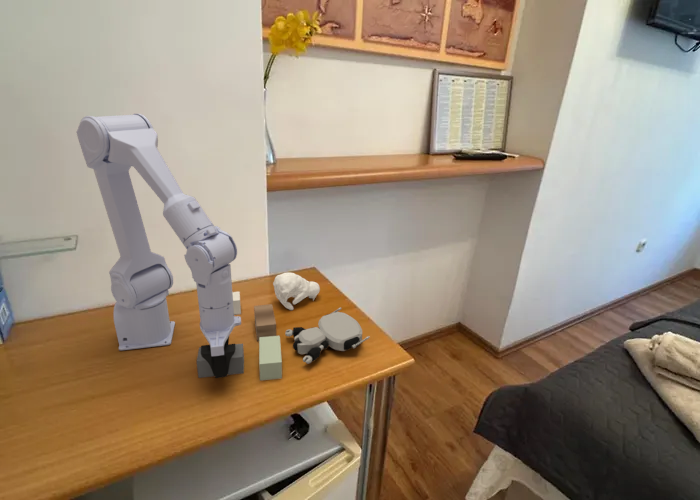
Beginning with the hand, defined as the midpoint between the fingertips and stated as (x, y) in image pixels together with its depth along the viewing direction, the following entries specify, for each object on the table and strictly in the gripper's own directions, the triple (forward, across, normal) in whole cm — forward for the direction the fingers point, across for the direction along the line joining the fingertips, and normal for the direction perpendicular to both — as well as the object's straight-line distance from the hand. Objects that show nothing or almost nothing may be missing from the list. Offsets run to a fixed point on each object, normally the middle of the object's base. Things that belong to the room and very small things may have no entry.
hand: (221, 362), depth 73 cm
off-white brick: (+2, +20, 0) cm, 20 cm away
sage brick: (+2, -1, -9) cm, 9 cm away
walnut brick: (+2, +11, -9) cm, 14 cm away
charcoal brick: (+2, 0, 0) cm, 2 cm away
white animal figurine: (+2, +21, -18) cm, 28 cm away
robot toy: (+2, +3, -21) cm, 21 cm away
